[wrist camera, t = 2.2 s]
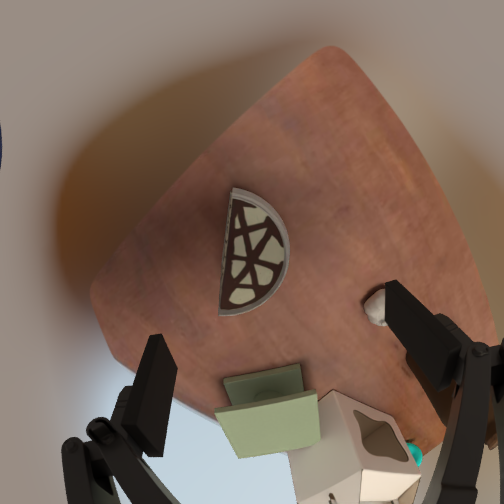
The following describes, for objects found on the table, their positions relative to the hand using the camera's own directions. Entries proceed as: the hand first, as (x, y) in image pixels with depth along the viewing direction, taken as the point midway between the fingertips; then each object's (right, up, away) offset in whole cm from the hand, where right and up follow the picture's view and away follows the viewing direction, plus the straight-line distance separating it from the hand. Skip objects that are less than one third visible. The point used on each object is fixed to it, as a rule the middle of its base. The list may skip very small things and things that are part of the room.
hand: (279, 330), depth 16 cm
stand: (+1, -20, +29) cm, 35 cm away
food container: (-2, +7, +20) cm, 21 cm away
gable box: (+17, -30, +35) cm, 49 cm away
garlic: (+17, -3, +24) cm, 30 cm away
